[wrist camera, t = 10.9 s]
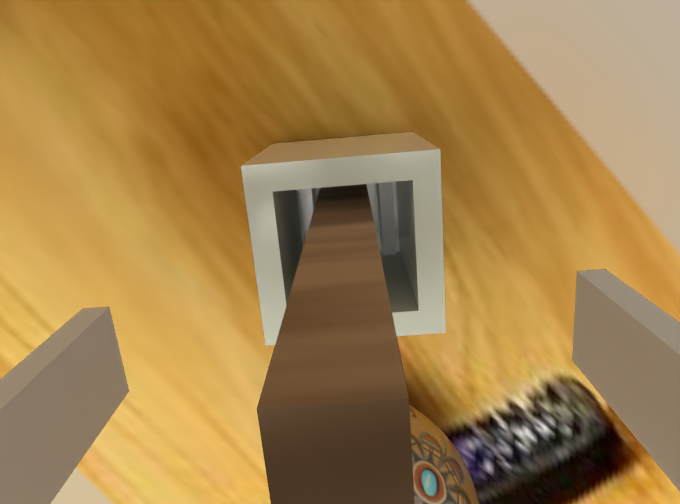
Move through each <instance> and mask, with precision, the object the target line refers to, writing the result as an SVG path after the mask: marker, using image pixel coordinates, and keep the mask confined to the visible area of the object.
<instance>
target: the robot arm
mask: <svg viewBox="0 0 680 504" xmlns="http://www.w3.org/2000/svg"><path fill="white" fill-rule="evenodd" d="M572 361H573V362H574V363H575V364H576V365H577V367H578V368H579V369H580V370H581V372H582V373H583V374H584V375H585V376H586V378H587V379H588V380H589V381H590V383H591V384H592V385H593V386H594V387H595V389H596V390H597V391H598V392H599V393H600V395H601V396H602V397H603V398H604V400H605V401H606V402H607V403H608V404H609V406H610V407H611V408H612V409H613V411H614V412H615V413H616V414H617V415H618V417H619V418H620V419H621V420H622V422H623V423H624V424H625V425H626V426H627V428H628V429H629V430H630V431H631V433H632V434H633V435H634V436H635V437H636V439H637V440H638V441H639V442H640V444H641V445H642V446H643V447H644V448H645V450H646V451H647V452H648V453H649V455H650V456H651V457H652V458H653V459H654V461H655V462H656V463H657V464H658V466H659V467H660V468H661V469H662V470H663V472H664V473H665V474H666V475H667V477H668V478H669V479H670V480H671V481H672V483H673V484H674V485H675V486H676V487H677V489H678V490H679V491H680V322H678V321H677V320H676V319H674V318H673V317H671V316H670V315H669V314H667V313H666V312H664V311H663V310H662V309H660V308H659V307H657V306H656V305H655V304H653V303H652V302H650V301H649V300H648V299H646V298H645V297H643V296H642V295H641V294H639V293H638V292H636V291H635V290H634V289H632V288H631V287H629V286H628V285H627V284H625V283H624V282H623V281H621V280H620V279H618V278H617V277H616V276H614V275H613V274H611V273H610V272H609V271H607V270H606V269H600V270H587V271H577V281H576V299H575V317H574V335H573V354H572ZM128 392H129V389H128V384H127V380H126V376H125V372H124V367H123V363H122V359H121V355H120V351H119V346H118V342H117V338H116V334H115V329H114V325H113V321H112V317H111V312H110V308H109V307H98V308H84V309H82V310H81V311H79V312H78V313H77V314H76V315H75V316H74V317H72V318H71V319H70V320H69V321H68V322H67V323H65V324H64V325H63V326H62V327H61V328H60V329H58V330H57V331H56V332H55V333H54V334H53V335H51V336H50V337H49V338H48V339H47V340H46V341H45V342H43V343H42V344H41V345H40V346H39V347H38V348H36V349H35V350H34V351H33V352H32V353H31V354H29V355H28V356H27V357H26V358H25V359H24V360H22V361H21V362H20V363H19V364H18V365H17V366H15V367H14V368H13V369H12V370H11V371H10V372H9V373H7V374H6V375H5V376H4V377H3V378H2V379H0V504H50V503H51V502H52V500H53V499H54V498H55V496H56V495H57V493H58V492H59V490H60V489H61V488H62V486H63V485H64V483H65V482H66V480H67V479H68V477H69V476H70V475H71V473H72V472H73V470H74V469H75V468H76V466H77V465H78V463H79V462H80V460H81V459H82V458H83V456H84V455H85V453H86V452H87V450H88V449H89V448H90V446H91V445H92V443H93V442H94V440H95V439H96V438H97V436H98V435H99V433H100V432H101V430H102V429H103V428H104V426H105V425H106V423H107V422H108V421H109V419H110V418H111V416H112V415H113V413H114V412H115V411H116V409H117V408H118V406H119V405H120V403H121V402H122V401H123V399H124V398H125V396H126V395H127V393H128Z"/></svg>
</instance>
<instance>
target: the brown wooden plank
mask: <svg viewBox="0 0 680 504" xmlns="http://www.w3.org/2000/svg"><path fill="white" fill-rule="evenodd" d="M257 413H258V420H259V426H260V433H261V440H262V446H263V453H264V460H265V466H266V473H267V480H268V487H269V493H270V500H271V504H415V501H414V482H413V463H412V445H411V426H410V407H409V396H408V391H407V386H406V381H405V376H404V371H403V366H402V361H401V356H400V351H399V346H398V341H397V336H396V331H395V326H394V320H393V315H392V310H391V305H390V300H389V295H388V290H387V285H386V280H385V275H384V270H383V265H382V260H381V255H380V250H379V245H378V240H377V235H376V230H375V225H374V220H373V215H372V210H371V205H370V200H369V195H368V189H367V184H360V185H348V186H335V187H323V188H320V191H319V194H318V197H317V201H316V204H315V208H314V211H313V215H312V218H311V222H310V225H309V229H308V232H307V236H306V239H305V243H304V246H303V250H302V253H301V257H300V260H299V264H298V267H297V271H296V274H295V278H294V281H293V285H292V288H291V292H290V295H289V299H288V302H287V306H286V309H285V313H284V316H283V320H282V323H281V327H280V330H279V334H278V337H277V340H276V344H275V347H274V351H273V354H272V358H271V361H270V365H269V368H268V372H267V375H266V379H265V382H264V386H263V389H262V393H261V396H260V400H259V403H258V407H257Z"/></svg>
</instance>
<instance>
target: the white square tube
mask: <svg viewBox="0 0 680 504" xmlns="http://www.w3.org/2000/svg"><path fill="white" fill-rule="evenodd" d="M241 171H242V179H243V186H244V193H245V200H246V208H247V215H248V222H249V229H250V236H251V244H252V251H253V258H254V265H255V273H256V280H257V287H258V294H259V301H260V309H261V316H262V323H263V330H264V338H265V345H275V344H276V340H277V337H278V334H279V330H280V327H281V323H282V320H283V316H284V313H285V309H286V306H287V302H288V299H289V295H290V292H291V288H292V285H293V281H294V278H295V274H296V271H297V267H298V264H299V260H300V257H301V253H302V250H303V246H304V243H305V239H306V236H307V232H308V229H309V225H310V222H311V218H312V215H313V211H314V208H315V204H316V201H317V197H318V194H319V191H320V188H323V187H335V186H348V185H360V184H367V189H368V195H369V200H370V205H371V210H372V215H373V220H374V225H375V230H376V235H377V240H378V245H379V250H380V255H381V260H382V265H383V270H384V275H385V280H386V285H387V290H388V295H389V300H390V305H391V310H392V315H393V320H394V326H395V331H396V336H408V335H422V334H436V333H446V322H445V288H444V254H443V220H442V186H441V152H440V149H439V148H438V147H436V146H435V145H433V144H431V143H430V142H428V141H427V140H425V139H423V138H422V137H420V136H419V135H417V134H415V133H414V132H402V133H390V134H378V135H367V136H355V137H343V138H331V139H320V140H308V141H296V142H284V143H273V144H271V145H270V146H269V147H267V148H266V149H264V150H263V151H261V152H260V153H259V154H257V155H256V156H254V157H253V158H251V159H250V160H248V161H247V162H246V163H244V164H243V165H241Z"/></svg>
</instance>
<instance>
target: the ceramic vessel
mask: <svg viewBox="0 0 680 504" xmlns="http://www.w3.org/2000/svg"><path fill="white" fill-rule="evenodd" d="M409 407H410V426H411V445H412V463H413V482H414V501H415V504H479V500H478V496H477V493H476V490H475V486H474V484H473V481H472V478H471V476H470V474H469V471H468V469H467V467H466V465H465V463H464V461H463V460H462V458H461V456H460V454H459V453H458V451H457V450H456V448H455V447H454V445H453V444H452V443H451V441H450V440H449V439H448V437H447V436H446V435H445V434H444V433H443V432H442V431H441V429H440V428H439V427H438V426H437V425H436V424H435V423H434V422H432V421H431V420H430V419H429V418H428V417H427V416H425V415H424V414H423V413H421V412H420V411H419V410H417V409H416V408H414V407H412V406H411V405H409Z"/></svg>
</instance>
